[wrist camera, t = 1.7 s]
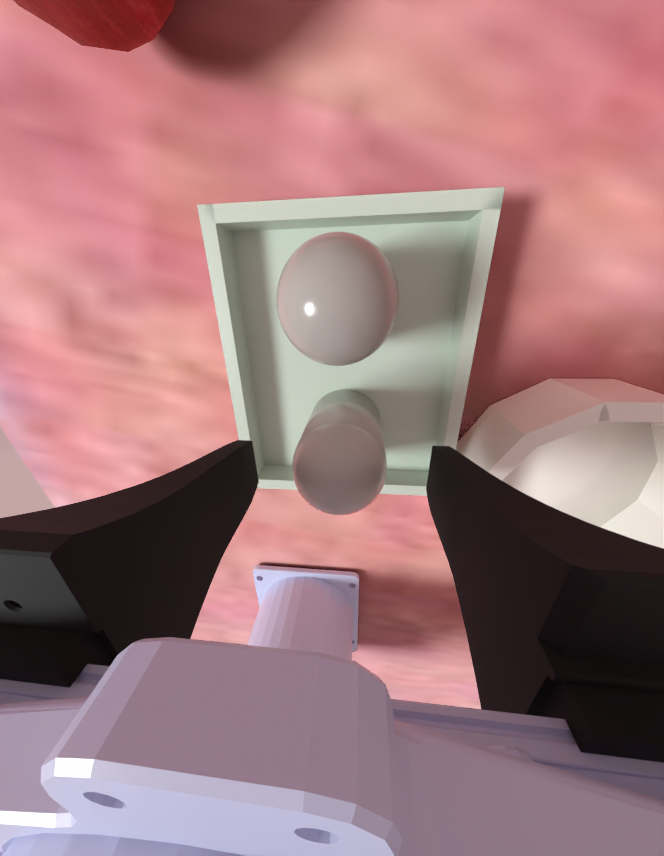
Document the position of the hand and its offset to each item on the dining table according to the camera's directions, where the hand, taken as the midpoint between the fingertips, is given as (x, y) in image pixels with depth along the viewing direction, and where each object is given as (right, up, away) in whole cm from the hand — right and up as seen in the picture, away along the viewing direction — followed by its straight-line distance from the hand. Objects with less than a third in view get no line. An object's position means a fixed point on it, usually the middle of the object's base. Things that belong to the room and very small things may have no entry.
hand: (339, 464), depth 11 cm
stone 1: (0, +7, +2) cm, 7 cm away
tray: (0, +5, +3) cm, 6 cm away
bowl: (+12, -1, +5) cm, 13 cm away
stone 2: (0, +2, +4) cm, 4 cm away
